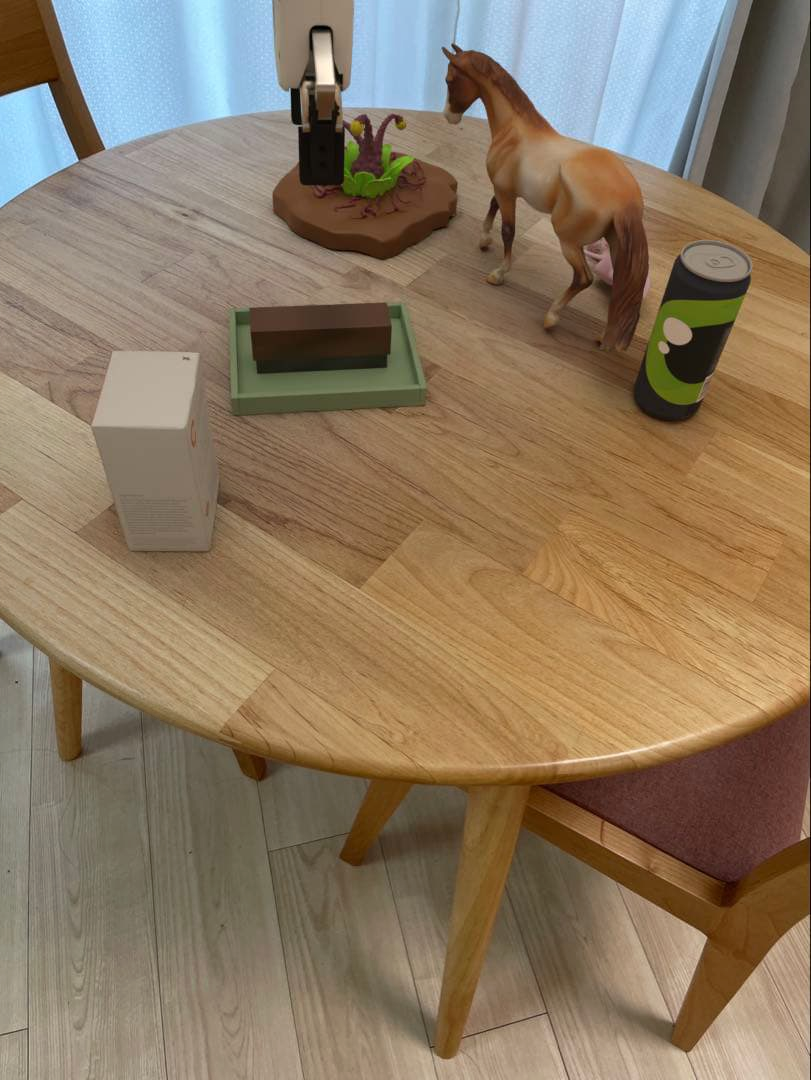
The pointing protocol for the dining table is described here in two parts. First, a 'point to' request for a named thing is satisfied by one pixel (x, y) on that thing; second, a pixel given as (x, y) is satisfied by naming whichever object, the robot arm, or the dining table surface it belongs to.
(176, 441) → the small box
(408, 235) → the plant
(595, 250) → the rabbit figure
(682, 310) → the beverage can
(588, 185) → the horse figurine
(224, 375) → the dining table surface
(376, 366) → the brown wooden block
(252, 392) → the tray
